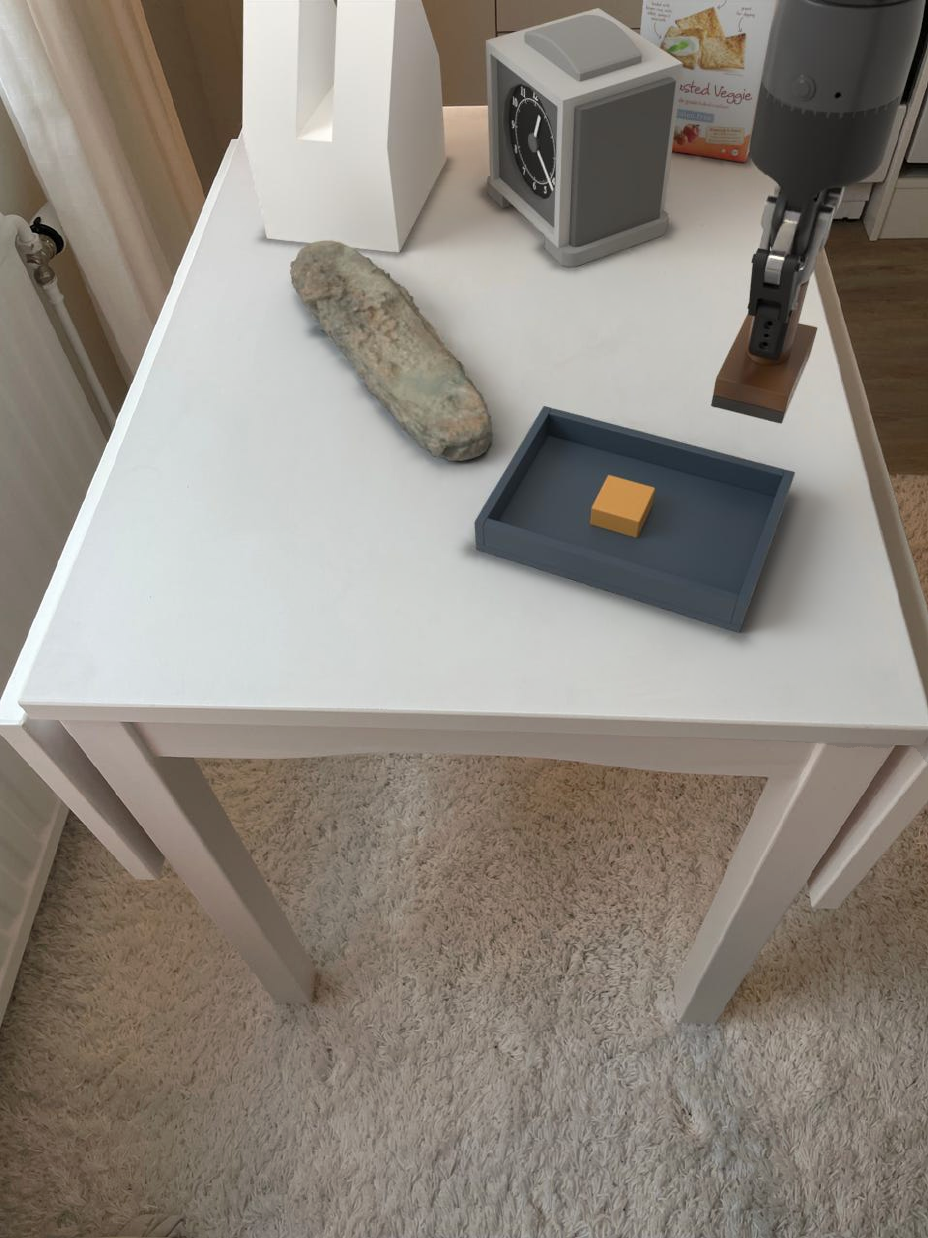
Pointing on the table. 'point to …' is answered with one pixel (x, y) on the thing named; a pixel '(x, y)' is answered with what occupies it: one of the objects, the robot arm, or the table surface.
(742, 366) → the rubber stamp
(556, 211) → the alarm clock
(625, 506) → the orange squat block
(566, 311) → the table surface
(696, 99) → the cracker box
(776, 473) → the tray
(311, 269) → the elongated rock
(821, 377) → the table surface
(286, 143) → the white slotted tapered block
